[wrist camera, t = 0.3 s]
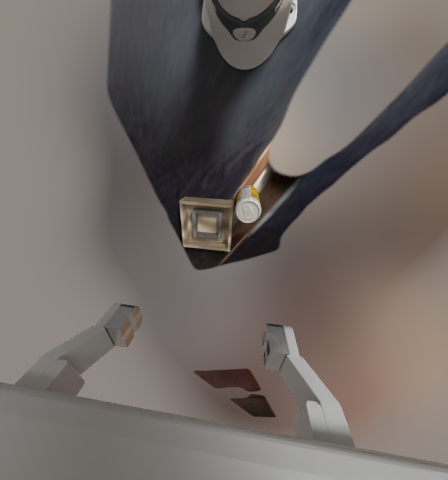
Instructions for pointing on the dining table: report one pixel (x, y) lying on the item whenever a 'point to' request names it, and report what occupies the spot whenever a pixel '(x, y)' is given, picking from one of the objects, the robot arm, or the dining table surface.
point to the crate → (206, 223)
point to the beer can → (248, 204)
